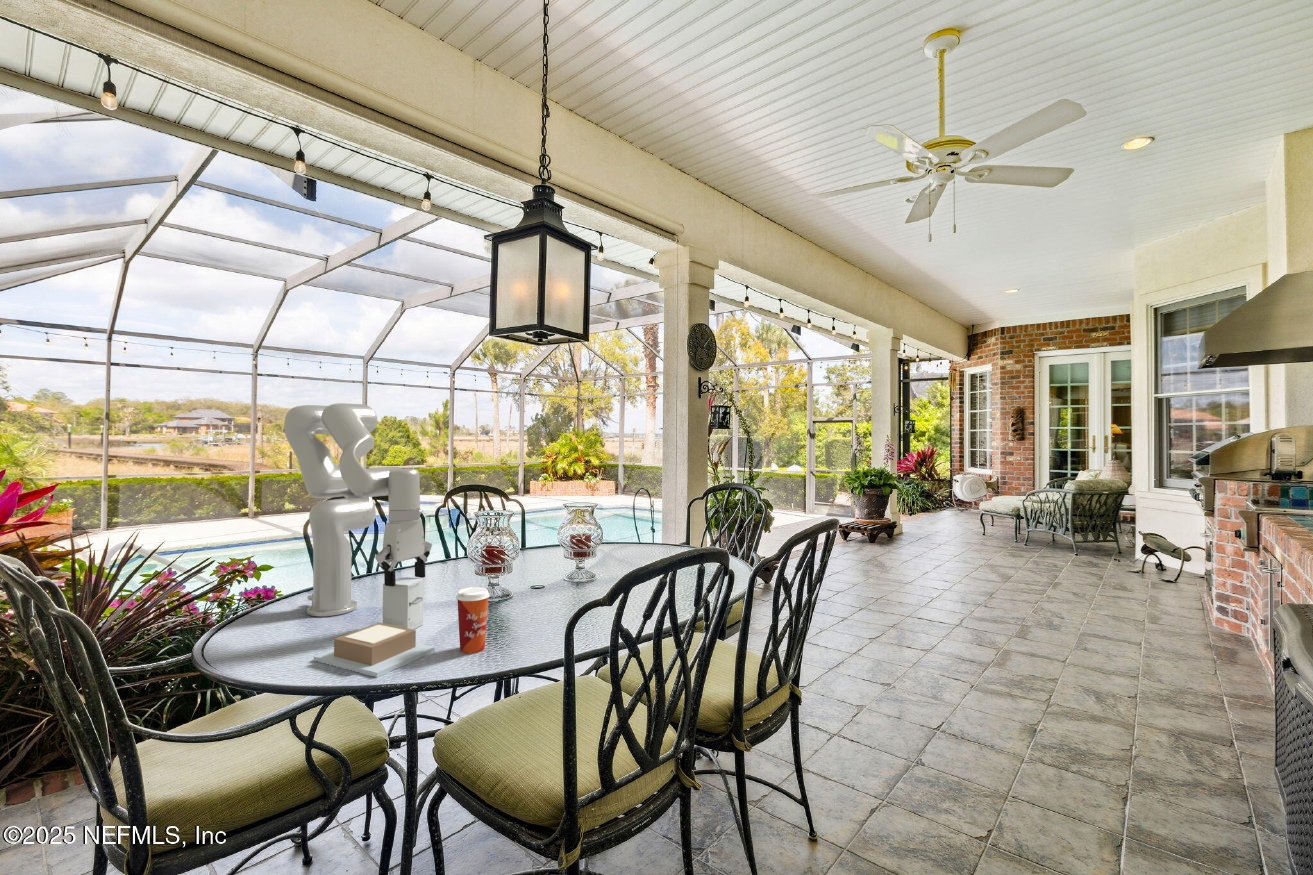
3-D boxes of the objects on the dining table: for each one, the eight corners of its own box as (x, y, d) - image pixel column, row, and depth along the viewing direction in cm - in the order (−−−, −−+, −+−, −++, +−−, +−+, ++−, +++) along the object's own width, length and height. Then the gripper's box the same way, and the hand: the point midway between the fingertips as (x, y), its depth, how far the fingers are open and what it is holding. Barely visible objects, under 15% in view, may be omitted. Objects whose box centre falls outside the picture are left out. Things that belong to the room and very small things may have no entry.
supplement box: (407, 634, 147) (407, 585, 147) (381, 632, 148) (381, 583, 148) (424, 624, 154) (424, 577, 154) (399, 622, 156) (400, 576, 155)
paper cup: (470, 657, 133) (471, 597, 132) (448, 650, 137) (449, 591, 136) (496, 647, 139) (497, 589, 139) (474, 640, 143) (475, 584, 143)
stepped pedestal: (313, 660, 130) (313, 637, 130) (374, 637, 144) (374, 616, 144) (377, 677, 122) (377, 652, 122) (434, 651, 136) (434, 629, 136)
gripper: (419, 511, 160) (420, 572, 160) (365, 519, 144) (366, 588, 144) (440, 512, 157) (441, 575, 157) (387, 521, 141) (388, 591, 141)
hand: (405, 581), depth 151 cm, fingers open, 9 cm apart
